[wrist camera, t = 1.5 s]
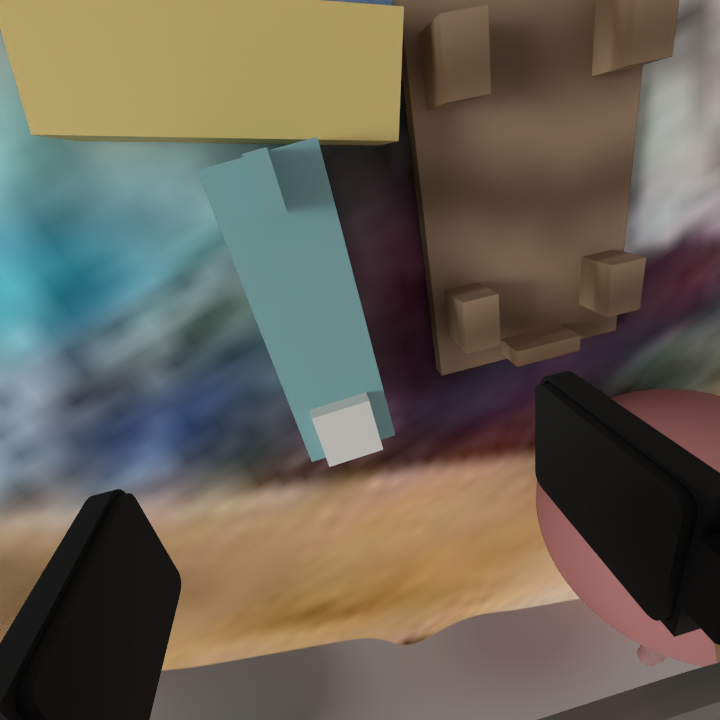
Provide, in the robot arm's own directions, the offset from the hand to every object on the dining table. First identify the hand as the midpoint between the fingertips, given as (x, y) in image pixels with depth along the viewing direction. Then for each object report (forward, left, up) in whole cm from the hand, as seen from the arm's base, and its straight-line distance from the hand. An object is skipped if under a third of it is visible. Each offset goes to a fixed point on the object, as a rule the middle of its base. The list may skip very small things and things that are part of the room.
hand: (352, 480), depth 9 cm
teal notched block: (0, 0, -16) cm, 16 cm away
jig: (-3, +13, -15) cm, 20 cm away
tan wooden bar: (-10, -1, -16) cm, 19 cm away
